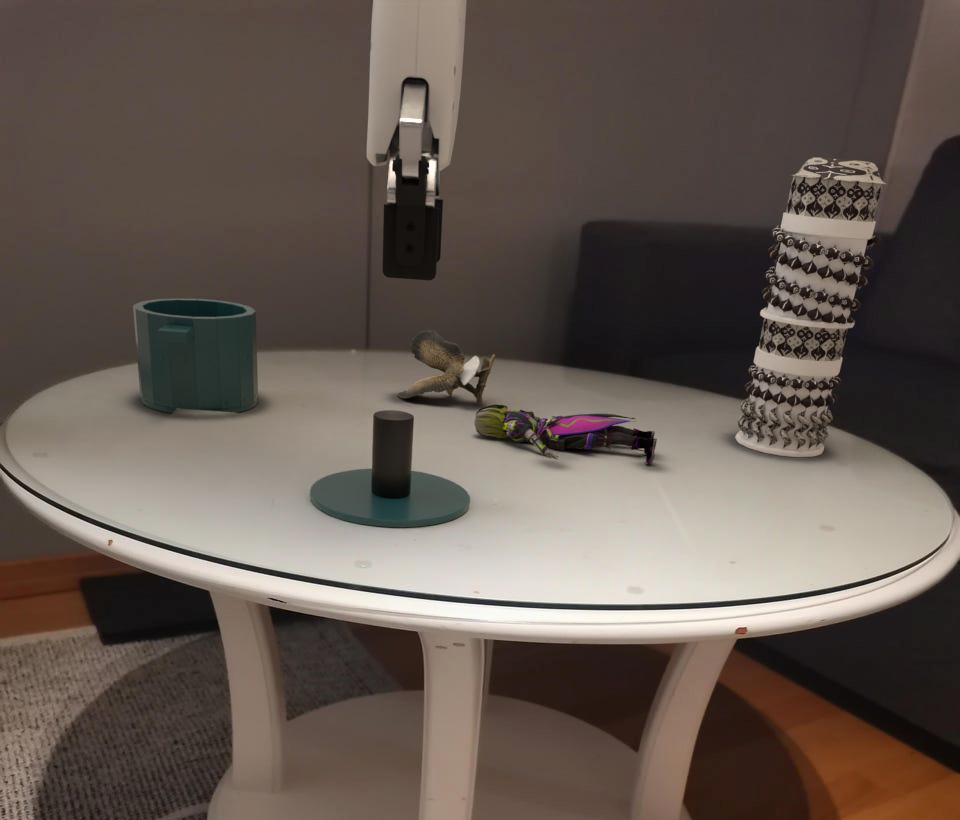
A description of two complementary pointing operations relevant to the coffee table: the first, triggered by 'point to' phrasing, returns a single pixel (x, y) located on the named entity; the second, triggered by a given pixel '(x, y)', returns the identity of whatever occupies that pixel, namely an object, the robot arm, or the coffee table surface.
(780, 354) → the decorative candle
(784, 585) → the coffee table surface
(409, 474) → the lid
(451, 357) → the eagle figurine
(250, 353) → the pot
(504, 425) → the character figure
